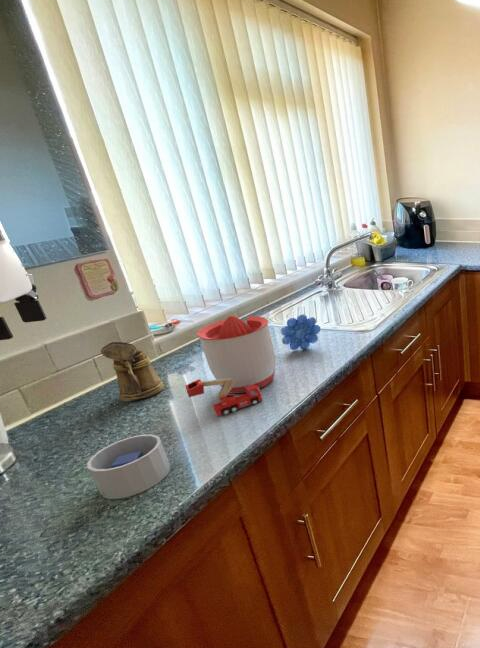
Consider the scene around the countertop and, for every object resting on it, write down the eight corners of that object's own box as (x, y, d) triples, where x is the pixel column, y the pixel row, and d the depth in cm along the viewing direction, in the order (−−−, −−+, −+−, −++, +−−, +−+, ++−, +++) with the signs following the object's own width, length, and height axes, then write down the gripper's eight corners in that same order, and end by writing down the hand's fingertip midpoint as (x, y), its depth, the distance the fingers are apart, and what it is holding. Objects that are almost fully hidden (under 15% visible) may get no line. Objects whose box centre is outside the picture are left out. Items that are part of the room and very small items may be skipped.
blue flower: (325, 341, 137) (318, 308, 132) (323, 349, 131) (316, 315, 126) (287, 346, 133) (279, 312, 129) (283, 355, 127) (275, 319, 123)
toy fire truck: (264, 401, 102) (255, 367, 99) (198, 424, 93) (186, 388, 90) (260, 396, 105) (251, 363, 101) (196, 418, 96) (183, 383, 92)
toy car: (109, 487, 75) (100, 469, 73) (117, 475, 78) (109, 457, 76) (155, 477, 77) (147, 458, 76) (161, 465, 80) (153, 447, 78)
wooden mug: (114, 414, 98) (85, 347, 91) (123, 390, 108) (97, 329, 101) (161, 402, 103) (136, 338, 96) (165, 380, 113) (143, 321, 106)
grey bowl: (89, 506, 71) (74, 477, 69) (115, 469, 80) (103, 442, 78) (160, 489, 75) (148, 461, 73) (178, 455, 84) (168, 429, 81)
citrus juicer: (282, 362, 122) (266, 300, 115) (281, 389, 108) (264, 319, 101) (220, 374, 116) (200, 309, 108) (211, 404, 101) (187, 331, 94)
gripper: (-21, 231, 74) (21, 317, 80) (-109, 247, 59) (-48, 352, 65) (34, 228, 77) (71, 312, 83) (-36, 243, 62) (15, 344, 68)
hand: (18, 329), depth 74 cm, fingers open, 9 cm apart
